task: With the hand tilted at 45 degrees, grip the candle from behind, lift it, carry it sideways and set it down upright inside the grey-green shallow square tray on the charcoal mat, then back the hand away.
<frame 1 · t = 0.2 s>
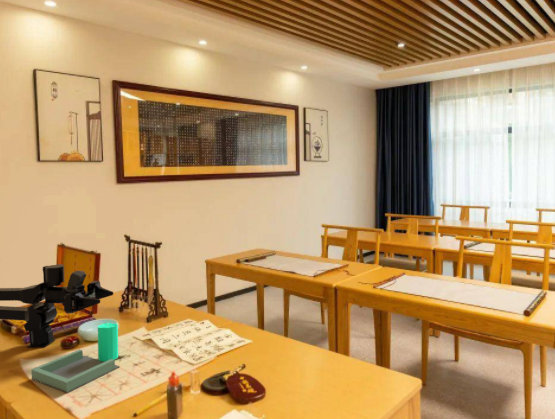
hand: (106, 297, 148), 17 cm above the table, tool horizontal, fingers open, 9 cm apart
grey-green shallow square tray: (76, 373, 128), on the table
candle: (108, 358, 138), on the table, touching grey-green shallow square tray
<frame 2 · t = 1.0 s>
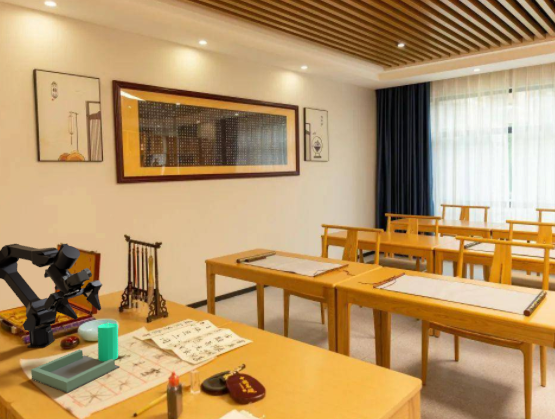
hand: (88, 314, 140), 14 cm above the table, tool tilted 45°, fingers open, 9 cm apart
nothing on the table moved.
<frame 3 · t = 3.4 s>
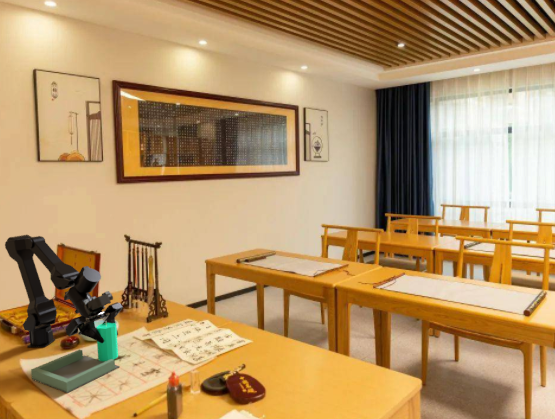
hand: (110, 338, 136), 7 cm above the table, tool tilted 45°, fingers closed on candle, 5 cm apart
candle: (108, 358, 138), on the table, touching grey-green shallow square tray, gripper
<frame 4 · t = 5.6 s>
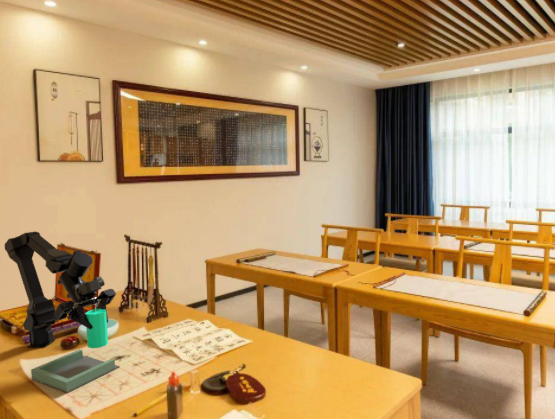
hand: (99, 325, 133), 12 cm above the table, tool tilted 45°, fingers closed on candle, 5 cm apart
candle: (98, 345, 134), point 6 cm above the table, touching gripper
when the fingers open (8 cm above the table, at t = 7.6 s): candle drops 1 cm, resting on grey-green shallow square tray.
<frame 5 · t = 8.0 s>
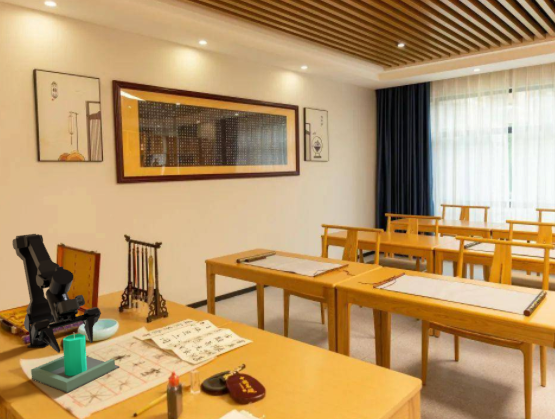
hand: (76, 347, 126), 8 cm above the table, tool tilted 45°, fingers open, 9 cm apart
candle: (75, 372, 128), resting on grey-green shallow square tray
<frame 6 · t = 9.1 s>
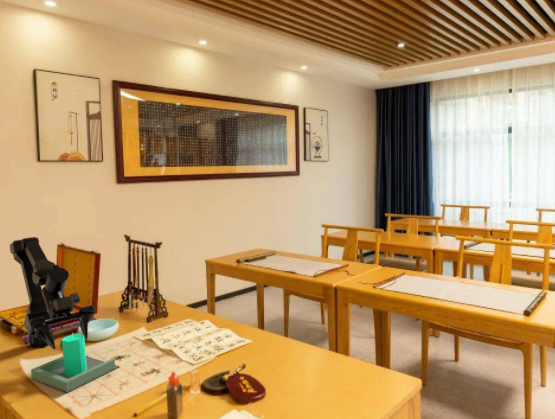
hand: (71, 343, 129), 8 cm above the table, tool tilted 45°, fingers open, 9 cm apart
nothing on the table moved.
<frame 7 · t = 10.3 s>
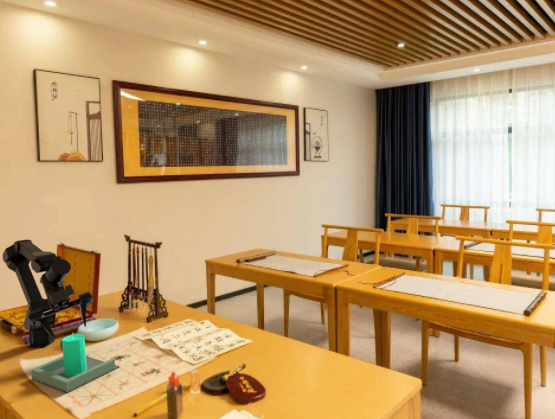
hand: (70, 332, 136), 9 cm above the table, tool tilted 35°, fingers open, 9 cm apart
nothing on the table moved.
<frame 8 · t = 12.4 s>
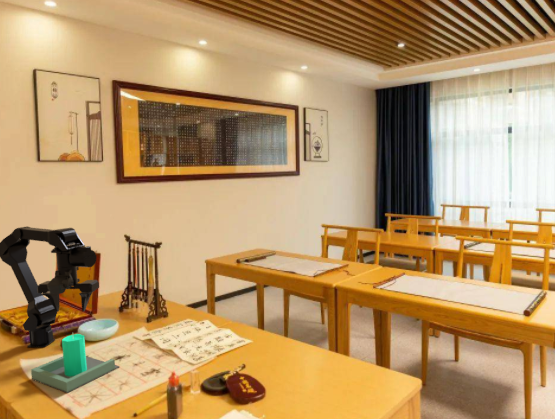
hand: (70, 311, 146), 13 cm above the table, tool pointing down, fingers open, 9 cm apart
nothing on the table moved.
at the end: candle inside the target area on the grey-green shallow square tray (0.4 cm from its centre), point 0.2 cm above the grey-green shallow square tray's base; candle tilted 0°; the gripper is holding nothing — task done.
